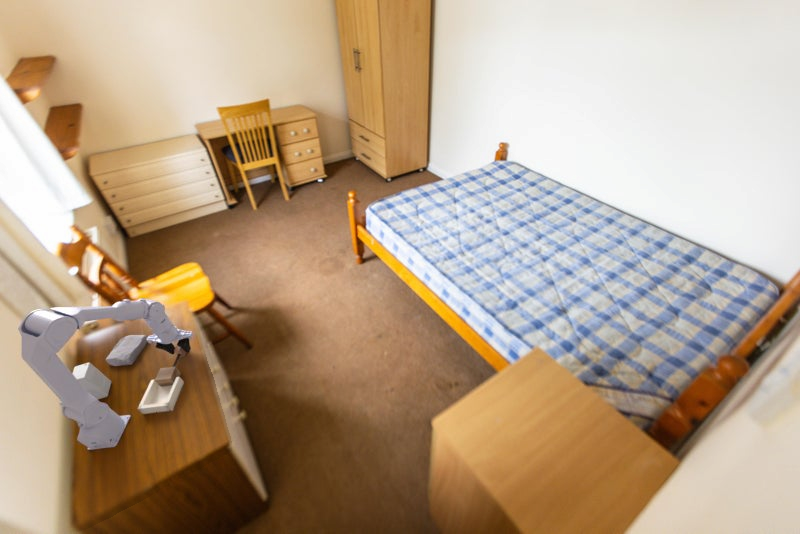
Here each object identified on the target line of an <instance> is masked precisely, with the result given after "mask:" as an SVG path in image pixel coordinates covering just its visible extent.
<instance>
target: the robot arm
mask: <svg viewBox="0 0 800 534" xmlns="http://www.w3.org/2000/svg"><path fill="white" fill-rule="evenodd" d="M51 310H52V311H51ZM107 319H113V320H114V321H115V322H126V321H134V320H144V321H145V323H146V324H147V326H148V327H149V328H150V329H151V330H152V331H153V333H154V334H151V335H148V336H147V341H148V342H147V343H148V344H153V343H155V344H156V345H155V348H156V349H159V350H163V351H165V352H167V353H168V354H170V355H175V354H176V353H175V352H174V349H175V347H176V346H175V345H174V344H173V343H176V342H177V343H176V345H177V346H179V347H181V348H182V349H183V350H184V351H185V352H186V354H189V353H190V351H191V349H192V347H191V344H190V340H193V338H194V336H195V333H194V332H193V331H192V330H185V329H184V330H182V329H179V328H178V327H177V326H176V325H175V324H174V323H173V322H172V320H171V319H170V318H169V316H168V314H166V305H165V304H163V303H161V302H160V301H157V300H153V299H149V298H143V297H141V298H139V299H137V300H131V299H128V298H124V299H122V300H121V301H116V302H115V303H114V304H112V305H110V306H109V305H107V306H106V305H105V306H101V305H100V306H68V307H67V306H63V307H62V306H61V307H59V306H55V307H50V308H49V309H46V308H39V309H34V310H32V311H31V312H29V313H28V314H27V315H26V316H24V318H23V319H22V321H21V323H20V325H19V326H18V328H17V329H18V331H19V334H20V336H21V358H22V360H23V361H24V362H25V364H27V365H28V367H30V369H31V370H32V371H33V372H34V373H35V374H36V376H38V377H39V379H40V380H41V381H42V382H43V383H44V384H45V385H46V386H47V387H48V388H49V389H50V390H51V392H52V393H53V394H54V395H55V396H56V397H57V398H58V399H59V400H60V401H59V402H58V404H59V405H60V406H61V413H62V416H64V417H65V418H69V419H72V420H74V421H75V422H76V424H77V426H78V427H79V432H78V435H77V438H76V439H77V441H78V442H79V443H80V444H82V445H84V446H85V447H86V448H87V450H88V451H89V450H91V451H92V450H99V449H107V448H115V447H116V446H117V445H118V444H119V441H120V439H121V437H122V435H123V434H124V431H125V429H126V427H127V425H128V422H129V421H130V419H131V417H132V416H131V415H130V414H126V415H119V414H117V413H116V411H114V410H113V409H111V408H110V406H109V405H108V404H107V403H106V402H101V401H99V399H96V398H95V397H94V396H92V395H91V394H89V393H88V392H87V391H86V390H85V389H84V387H83V386H82V385H81V384H80V382H79V381H78V380H77V379H76V378H75V376H74V375H73V374H72V373H73V372H72V371H70V369H69V368H68V366H67V365H66V364H65V363H64V362H63V361H62V359H61V358H60V357H59V356H58V355H57V354H58V353H59V352H60V351H61V349H62V348H64V347H65V345H66V344H67V343H68V342H69V341H70V340H71V338H72V337H73V336H74V335H75V334H76V333H77V330H80V331H81V330H82V329H83V327H84V325H85V323H86V322H92V321H98V320H107Z"/></svg>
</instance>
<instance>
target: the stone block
mask: <svg viewBox="0 0 800 534" xmlns="http://www.w3.org/2000/svg"><path fill="white" fill-rule="evenodd" d="M147 338H148V336H147V335H146V334H129V335H125V336H124V337H122V338H120V339H119V340H118V342H117V343H116V344H115V345H114V347H112V348H113V349H112V350H111V351H110V353H109V354H108V355H107V357H106V358H105V361H106V362H107V364H109V365H110V366H114V367H118V366H128V365H129V366H130V365H133V364H134V363H135V361H136V360H137V358H138V357H139V356H140V354H141V352H143V349H144V348H145V346H146V345H147V343H148V341H147Z"/></svg>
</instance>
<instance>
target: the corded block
mask: <svg viewBox="0 0 800 534" xmlns="http://www.w3.org/2000/svg"><path fill="white" fill-rule="evenodd" d="M174 347H175V349H174V352H175V353H174V354H176V358H175V361H174V362H173V364H172V366H168V367H160V368H159V370H158V373H157V374H156V377H155V381H156V382H157V383H158V384H159V385H160V387H162V386H171V385H173V384H174V381H175V379H176V377H180V378H181V374H182V373H181V371H180V370H179V368H177V367H176V366H177V365H178V364H177V363H178V362H179V360H180V358H184V357H185V356H186V354H187V353H186V352H185V351H184V350H183V349H182V348H181V347H179V346H177V344H176V345H175V346H174Z"/></svg>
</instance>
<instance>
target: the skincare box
mask: <svg viewBox="0 0 800 534" xmlns="http://www.w3.org/2000/svg"><path fill="white" fill-rule="evenodd" d="M71 373H72V374H73V375H74V376H75V378H76V379H77V380H78V381H79V382H80V384H81V385H82V386H83V387H84V389H85V390H86V391H87V392H88V393H89V394H91V395H92V396H94V397H95V398H96V399H98V400H100V399H104V398H107V397H108V396H109V391H110V389H111V384H112V380H110V379H109V378H108V377H107V376H106V375H105V374H103V373H102V372H101V371H100V370H99V369H98V368H97V367H95V366H94V364H92V363H91V362H85V363H83V364H79V365H76V366H74V368H73V371H72V372H71Z"/></svg>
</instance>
